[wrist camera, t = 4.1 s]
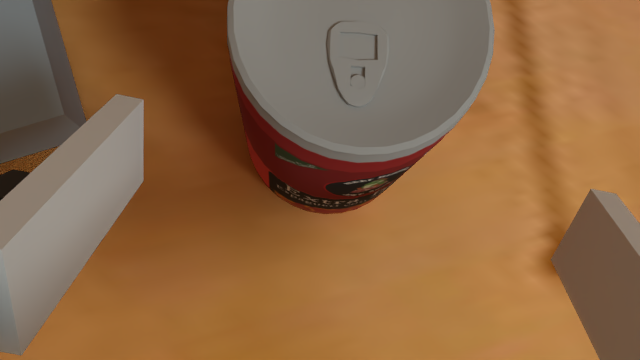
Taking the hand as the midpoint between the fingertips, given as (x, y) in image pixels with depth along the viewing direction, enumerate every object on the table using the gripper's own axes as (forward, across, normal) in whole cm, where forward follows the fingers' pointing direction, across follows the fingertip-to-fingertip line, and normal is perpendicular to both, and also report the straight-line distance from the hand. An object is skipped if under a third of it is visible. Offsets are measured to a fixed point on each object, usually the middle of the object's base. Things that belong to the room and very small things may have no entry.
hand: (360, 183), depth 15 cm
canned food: (+10, -1, -4) cm, 10 cm away
